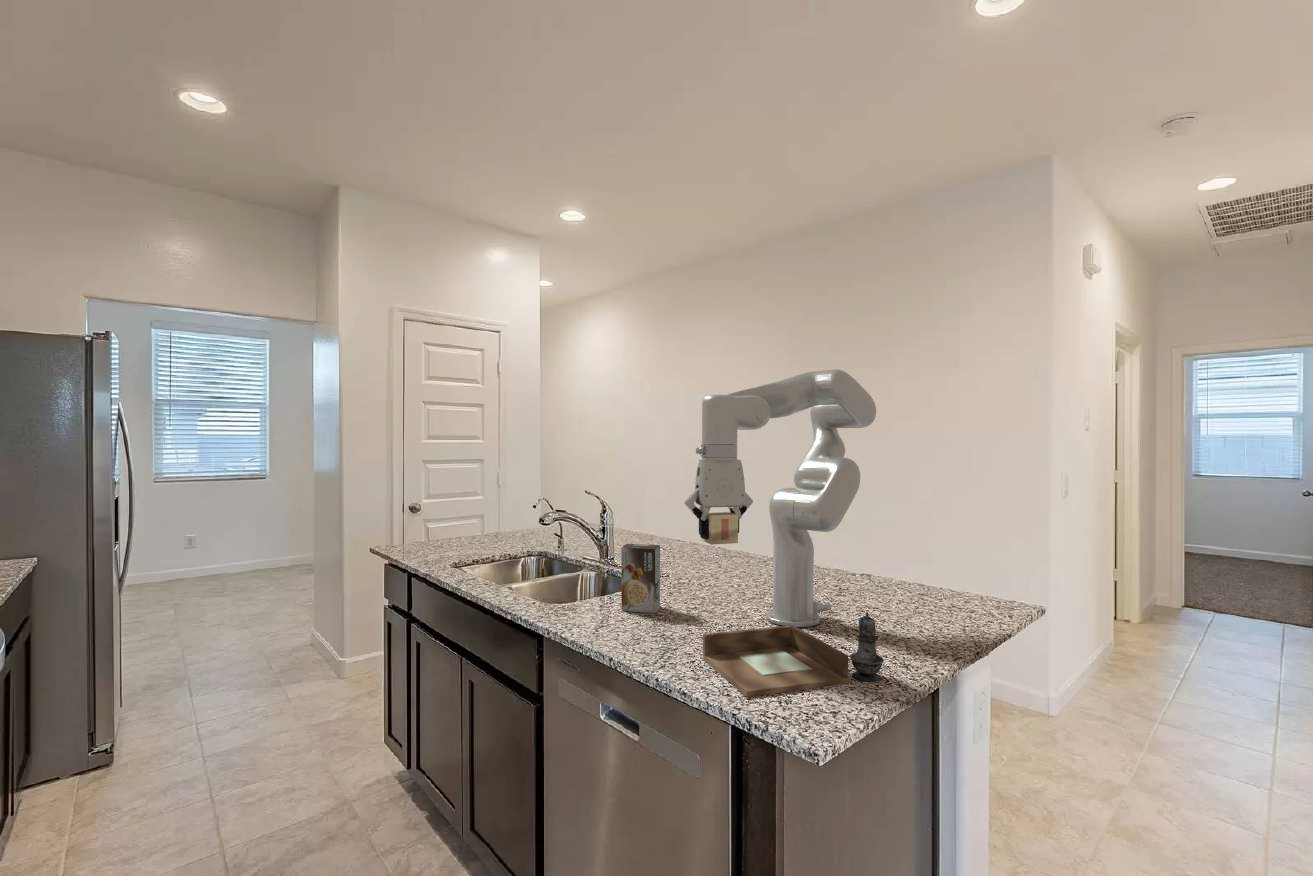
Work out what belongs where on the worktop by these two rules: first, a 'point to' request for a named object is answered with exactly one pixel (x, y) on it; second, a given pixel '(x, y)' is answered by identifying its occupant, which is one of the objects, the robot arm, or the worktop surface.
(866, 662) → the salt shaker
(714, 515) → the maple cube
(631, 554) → the coffee box
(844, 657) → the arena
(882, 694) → the worktop surface
